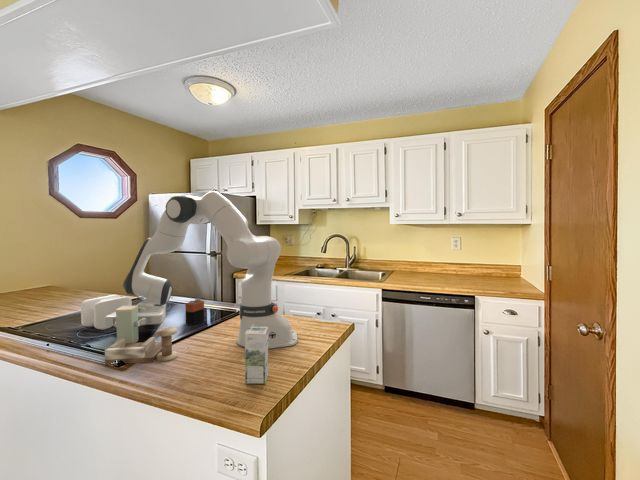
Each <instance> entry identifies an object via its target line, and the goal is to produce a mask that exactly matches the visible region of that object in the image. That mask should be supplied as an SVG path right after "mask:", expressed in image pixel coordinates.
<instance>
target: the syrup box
mask: <svg viewBox="0 0 640 480" xmlns="http://www.w3.org/2000/svg"><path fill="white" fill-rule="evenodd" d="M268 375H269V349H268V327H248V329H247V330H246V333H245V347H244V378H245V382H244V385H266V383H267V379H268Z"/></svg>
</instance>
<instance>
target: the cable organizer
mask: <svg viewBox="0 0 640 480" xmlns="http://www.w3.org/2000/svg"><path fill="white" fill-rule="evenodd" d="M122 306H133V304H132V298H131V297H129V296H122V297H121V295H118V294H109V295H106V296H100V297H99V296H98V297H94V298H89V299H85V300H83V301H81V303H80V319H81V321H80V323H81V325H83V327H94V328H95V329H98V330H102V331H104V330H107V329H110V328H112V326H106V325H105V323H104V318H105V316H107V315H109V314H111V313H114V312H116V309H118V308H120V307H122Z"/></svg>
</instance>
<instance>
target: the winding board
mask: <svg viewBox="0 0 640 480" xmlns="http://www.w3.org/2000/svg"><path fill="white" fill-rule="evenodd" d="M161 352H162V344H161V341H156V337H153V336H151V337H149V338H148V339H147V340H145V341H144V342H143V341H142V342H136V343H125V338H124V339H119V340H118V341H117V340H116V341H115V342H114V343H113V344H111V345H110V346H109V347H108V348H106V349H105V350H104V363H105V366H106V365H112V364H111V363H113V362H115V361H116V360H122V361H123V362H124V363H125V364H139V363H140V364H141V363H142V364H143V363H154V362H155V361H157V354H159V353H161Z"/></svg>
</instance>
